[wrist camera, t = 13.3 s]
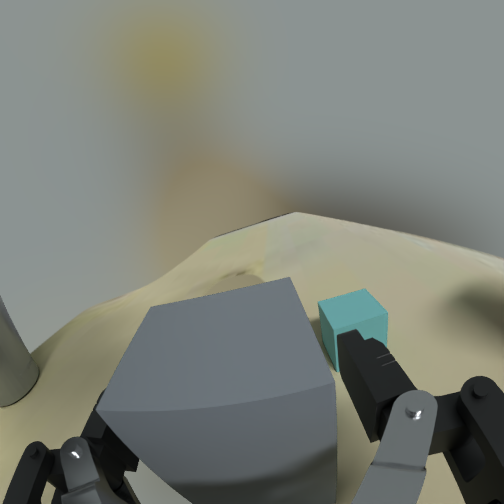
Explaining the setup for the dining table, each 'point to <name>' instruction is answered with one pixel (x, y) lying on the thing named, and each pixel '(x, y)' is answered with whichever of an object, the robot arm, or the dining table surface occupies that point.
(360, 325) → the teal block
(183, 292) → the dining table surface
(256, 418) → the tall grey pillar block
